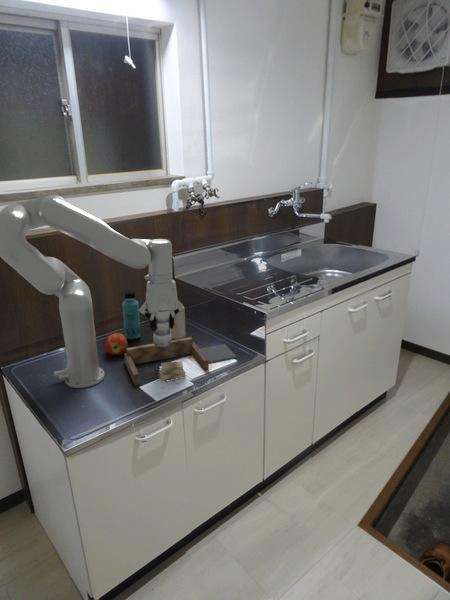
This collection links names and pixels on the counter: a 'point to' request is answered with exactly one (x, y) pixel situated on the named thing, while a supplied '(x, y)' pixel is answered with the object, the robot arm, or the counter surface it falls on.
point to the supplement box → (179, 325)
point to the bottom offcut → (170, 376)
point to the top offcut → (172, 368)
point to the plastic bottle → (162, 327)
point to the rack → (162, 355)
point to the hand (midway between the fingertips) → (162, 328)
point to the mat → (218, 353)
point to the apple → (116, 344)
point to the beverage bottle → (131, 316)
